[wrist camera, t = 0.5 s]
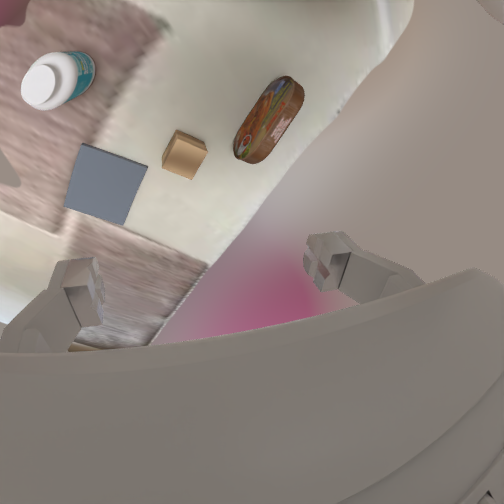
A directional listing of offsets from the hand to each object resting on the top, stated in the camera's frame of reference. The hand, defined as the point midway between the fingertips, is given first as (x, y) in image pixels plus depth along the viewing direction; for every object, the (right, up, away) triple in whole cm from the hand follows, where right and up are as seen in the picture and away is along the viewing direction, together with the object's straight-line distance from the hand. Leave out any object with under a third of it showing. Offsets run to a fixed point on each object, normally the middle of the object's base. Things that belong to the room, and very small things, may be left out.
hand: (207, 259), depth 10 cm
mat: (-23, +11, +31) cm, 40 cm away
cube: (-9, +17, +32) cm, 37 cm away
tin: (+3, +23, +31) cm, 39 cm away
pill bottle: (-24, +26, +18) cm, 40 cm away
